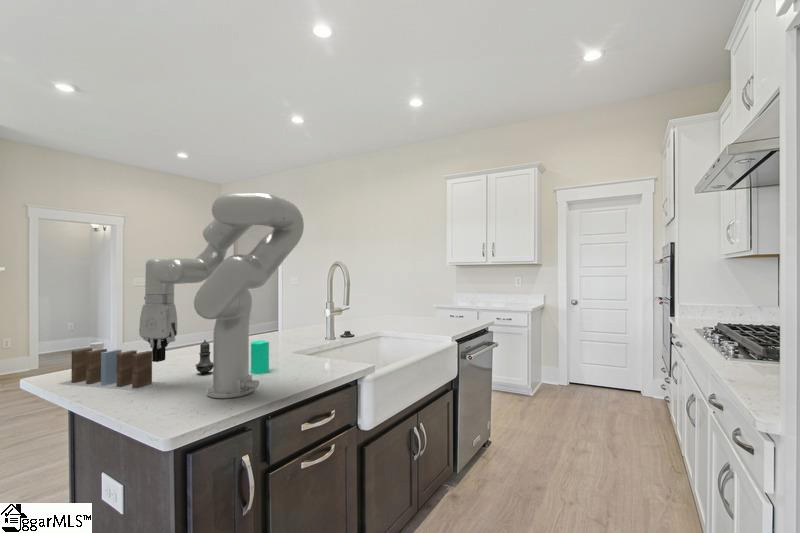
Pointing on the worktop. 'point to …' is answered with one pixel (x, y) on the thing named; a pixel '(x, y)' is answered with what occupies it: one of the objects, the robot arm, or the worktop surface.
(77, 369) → the tile
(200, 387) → the worktop surface
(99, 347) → the supplement bottle
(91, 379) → the tile
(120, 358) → the tile
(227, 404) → the worktop surface
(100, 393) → the worktop surface
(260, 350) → the candle
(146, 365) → the tile
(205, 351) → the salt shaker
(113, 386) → the mat
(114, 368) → the slate tile
